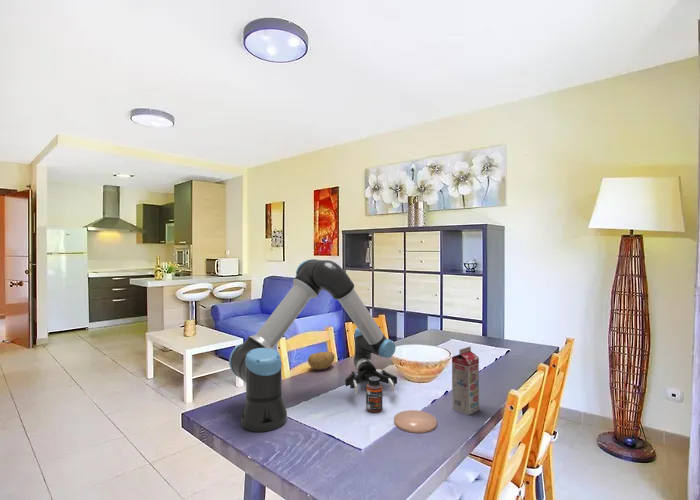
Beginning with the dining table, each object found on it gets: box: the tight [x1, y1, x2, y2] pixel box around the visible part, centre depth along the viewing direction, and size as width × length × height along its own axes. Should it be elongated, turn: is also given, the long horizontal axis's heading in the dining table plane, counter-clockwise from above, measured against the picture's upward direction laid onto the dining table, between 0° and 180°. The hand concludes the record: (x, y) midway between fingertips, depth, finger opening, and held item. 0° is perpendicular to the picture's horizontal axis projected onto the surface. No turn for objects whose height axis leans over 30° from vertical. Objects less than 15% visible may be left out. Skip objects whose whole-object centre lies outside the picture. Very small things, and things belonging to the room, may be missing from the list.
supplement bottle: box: [365, 377, 384, 413], centre depth 136 cm, size 6×6×11 cm
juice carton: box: [451, 346, 480, 416], centre depth 135 cm, size 7×7×22 cm
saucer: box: [393, 409, 438, 434], centre depth 126 cm, size 14×14×1 cm
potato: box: [307, 351, 336, 371], centre depth 181 cm, size 10×14×8 cm
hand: (374, 389), depth 139 cm, fingers open, 13 cm apart
